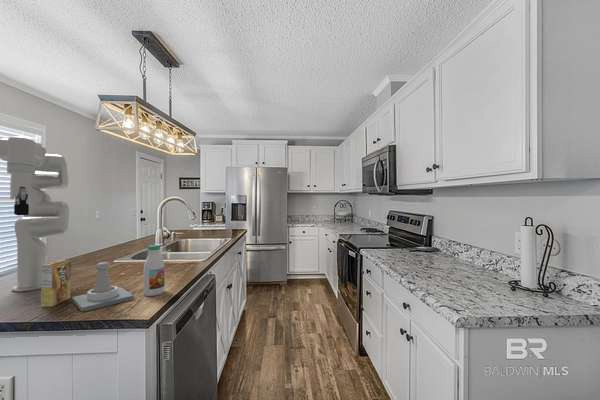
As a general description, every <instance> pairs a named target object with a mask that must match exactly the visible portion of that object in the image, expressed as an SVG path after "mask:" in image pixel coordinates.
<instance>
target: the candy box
mask: <svg viewBox="0 0 600 400" xmlns="http://www.w3.org/2000/svg"><path fill="white" fill-rule="evenodd" d="M71 267H72V260H71V259H59V260H55V261H51V262H49V263H48V262H47V264H44V265H42V280H41V288H40V289H41V290H40V291H41V293H40V307H41V308H44V307H45V308H47V307H54V306H56V305H59V304H60V303H63V302H64V301H67V300H69V299H71V280H72V279H71V278H72V277H71V272H72V271H71V269H72V268H71Z"/></svg>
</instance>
